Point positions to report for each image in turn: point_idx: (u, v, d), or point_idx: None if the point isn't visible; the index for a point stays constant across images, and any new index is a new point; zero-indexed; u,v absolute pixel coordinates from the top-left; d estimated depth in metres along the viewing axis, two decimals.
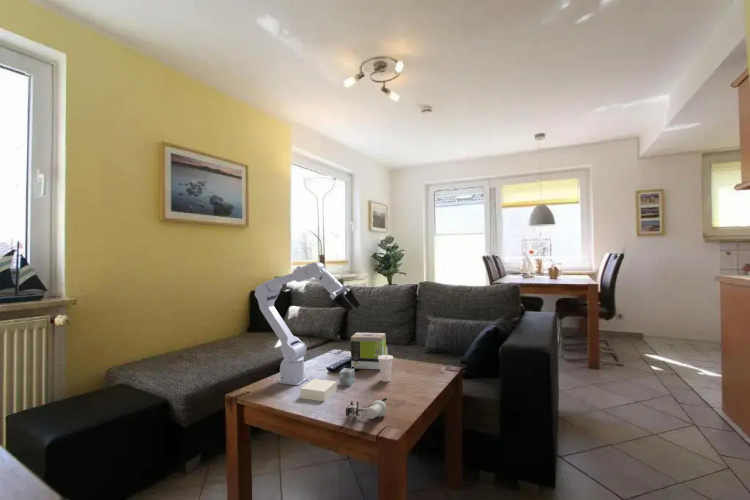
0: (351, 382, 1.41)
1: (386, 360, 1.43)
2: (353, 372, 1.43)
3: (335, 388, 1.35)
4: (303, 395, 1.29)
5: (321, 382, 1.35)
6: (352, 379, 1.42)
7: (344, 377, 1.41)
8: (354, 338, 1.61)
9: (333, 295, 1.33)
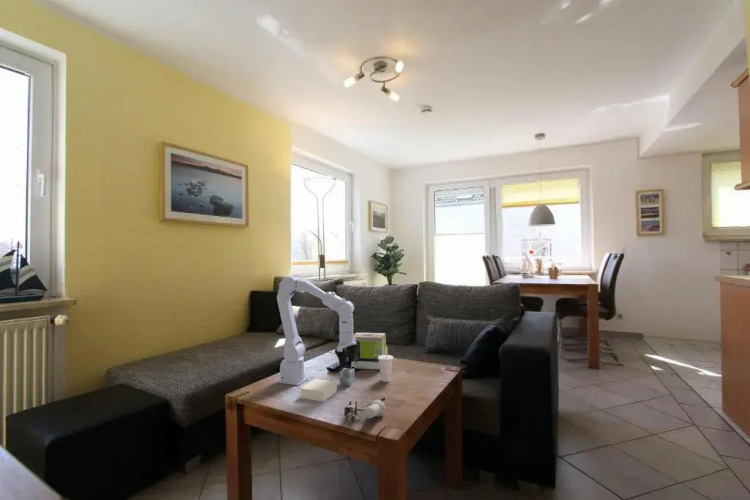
0: (351, 382, 1.41)
1: (386, 360, 1.43)
2: (353, 372, 1.43)
3: (335, 388, 1.35)
4: (303, 395, 1.30)
5: (321, 382, 1.35)
6: (352, 379, 1.42)
7: (344, 377, 1.41)
8: None
9: (340, 349, 1.36)
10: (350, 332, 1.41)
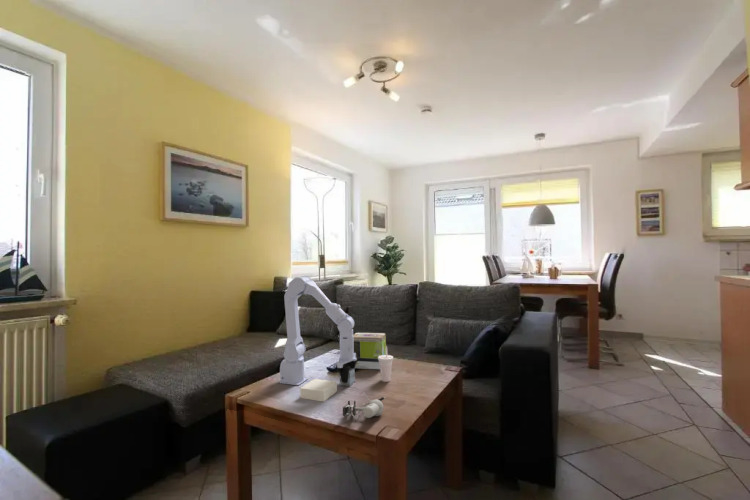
0: (351, 382, 1.41)
1: (386, 360, 1.43)
2: (353, 372, 1.43)
3: (335, 388, 1.35)
4: (303, 395, 1.30)
5: (321, 382, 1.35)
6: (352, 379, 1.42)
7: None
8: (354, 338, 1.61)
9: (340, 366, 1.36)
10: (350, 348, 1.41)
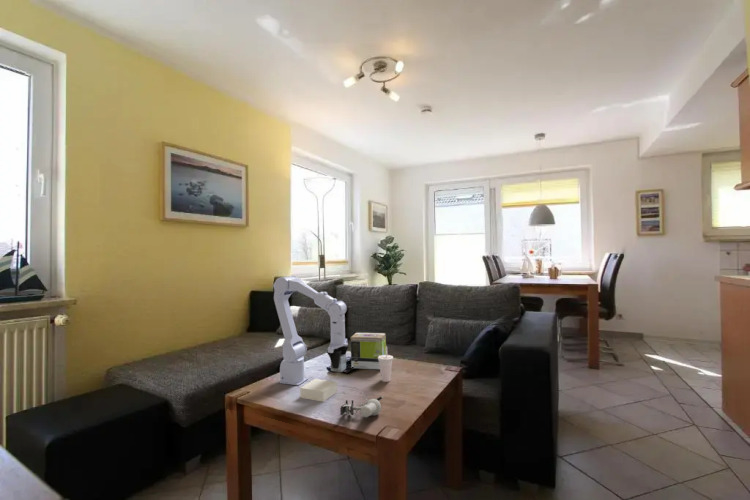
0: (342, 368, 1.38)
1: (386, 360, 1.43)
2: (344, 358, 1.40)
3: (335, 388, 1.34)
4: (303, 395, 1.30)
5: (321, 382, 1.35)
6: (343, 365, 1.39)
7: None
8: (354, 338, 1.61)
9: (330, 350, 1.33)
10: (341, 333, 1.38)
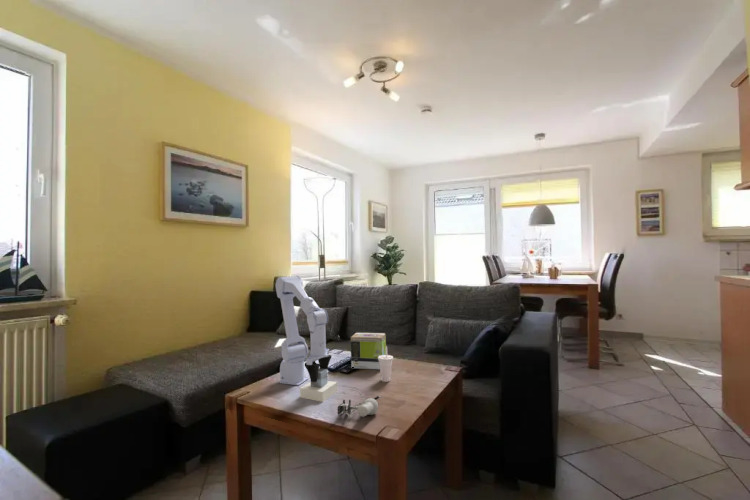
0: (322, 383, 1.31)
1: (386, 360, 1.43)
2: (325, 372, 1.33)
3: (335, 389, 1.34)
4: (302, 395, 1.30)
5: None
6: (324, 380, 1.32)
7: None
8: (354, 338, 1.61)
9: (309, 362, 1.26)
10: (322, 343, 1.31)
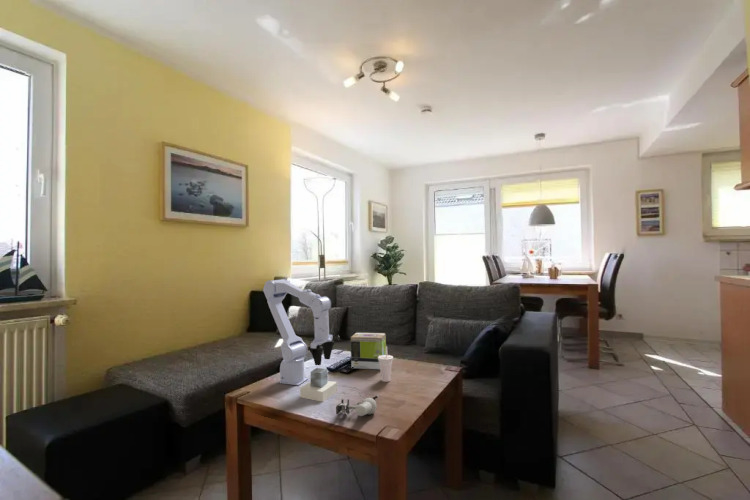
0: (322, 383, 1.31)
1: (386, 360, 1.43)
2: (325, 373, 1.33)
3: (335, 389, 1.34)
4: (303, 395, 1.30)
5: None
6: (324, 380, 1.32)
7: (315, 378, 1.31)
8: (354, 338, 1.61)
9: (313, 346, 1.32)
10: (325, 328, 1.37)
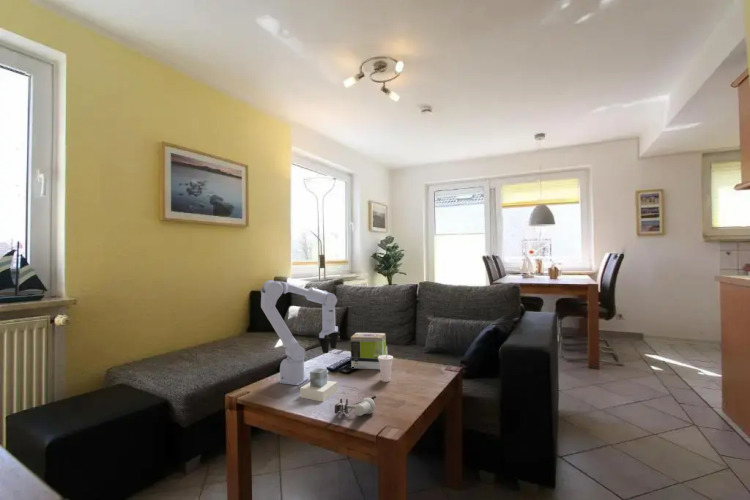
0: (322, 383, 1.31)
1: (386, 360, 1.43)
2: (325, 373, 1.33)
3: (335, 389, 1.34)
4: (303, 395, 1.30)
5: None
6: (323, 380, 1.32)
7: (314, 378, 1.31)
8: (354, 338, 1.61)
9: (322, 336, 1.48)
10: (332, 320, 1.53)
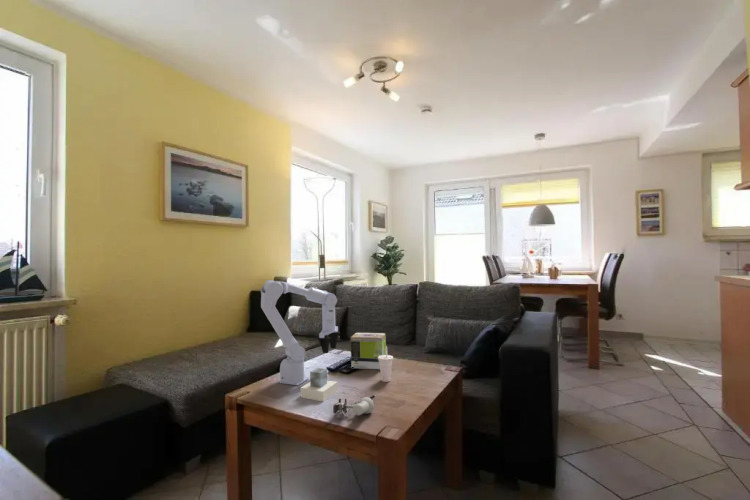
0: (322, 383, 1.31)
1: (386, 360, 1.43)
2: (325, 372, 1.33)
3: (336, 388, 1.35)
4: (303, 395, 1.30)
5: None
6: (323, 380, 1.32)
7: (314, 377, 1.31)
8: (354, 338, 1.61)
9: (322, 336, 1.48)
10: (332, 320, 1.53)
